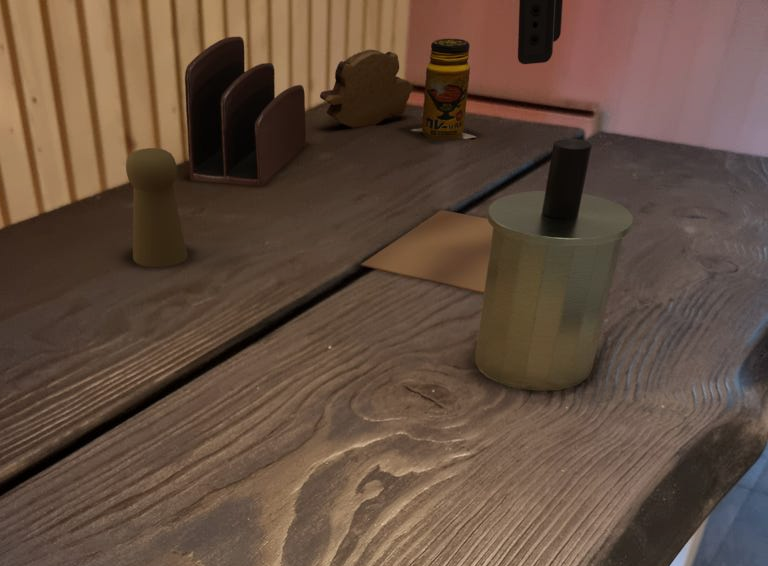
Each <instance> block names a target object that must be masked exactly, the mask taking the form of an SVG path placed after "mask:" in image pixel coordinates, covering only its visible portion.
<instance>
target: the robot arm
mask: <svg viewBox="0 0 768 566" xmlns="http://www.w3.org/2000/svg"><path fill="white" fill-rule="evenodd" d="M563 1H564V0H519V5H518V6H519V7H518V36H517V37H518V38H517V60H518V62H519V63H520V64H522V65H533V64H534V65H535V64H544V63H547V62H549V61H550V59H551V58H552V56H553V53H554V43H555V42H557V41H558V40H559V38H560V37H561V34H562V19H563V3H564V2H563Z"/></svg>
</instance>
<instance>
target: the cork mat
mask: <svg viewBox="0 0 768 566" xmlns="http://www.w3.org/2000/svg"><path fill="white" fill-rule="evenodd" d="M492 232H493V227H492V226H491V225H490V223H489V221H488V218H487V217H481V216H476V215H472V214H471V215H470V214H466V213H465V214H464V213H460V212H454V211H450V210H449V211H448V210H443V209H441V210H439V211H437V212H436V213H435V214H433V215H431V216H430V217H429V218H427V219H426V220H425V221H423V222H422V223H420V224H419V225H417V226H416V227H414V228H413V229H411V230H409V231H408V232H406V233H405V234H403V235H402V236H401V237H398V239H396V240H395V241H393V242H392V243H390V244H389V245H387V246H386V247H384V248H383V249H381V250H380V251H378V252H377V253H375V254H374V255H372V256H371V257H370V258H368V259H366V260H365V261H363V262H361V264H360V266H361V267H363V268H364V267H365V268H369V269H372V270H378V271H382V272H387V273H390V274H396V275H399V276H403V277H409V278H413V279H417V280H418V279H419V280H423V281H426V282H431V283H435V284H440V285H445V286H449V287H453V288H458V289H461V290H466V291H470V292H471V291H472V292H476V293H480V294H484V290H485V283H486V275H487V268H488V261H489V253H490V246H491V239H492Z"/></svg>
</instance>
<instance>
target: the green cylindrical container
mask: <svg viewBox="0 0 768 566" xmlns="http://www.w3.org/2000/svg"><path fill="white" fill-rule="evenodd" d="M622 242H623V238H621V239H619V240H616V241H613V242H609V243H605V244H600V245H592V246H577V247H568V246H551V245H543V244H537V243H532V242H527V241H523V240H519V239H516V238H513V237H510V236H508V235H505V234H503V233H501V232H499V231H498V230H496V229H495V228H494V227H493V232H492V239H491V246H490V253H489V261H488V268H487V275H486V283H485V290H484V293H483V297H482V304H481V305H482V306H481V313H480V320H479V326H478V327H479V328H478V332H477V334H478V335H477V342H476V349H475V361H474V363H475V365H476V367H477V369H478V370H479V371H480V372H481V373H482V375H484V376H485V377H487V378H489V379H490V380H491V381H494V382H496V383H498V384H502V385H504V386H507V387H511V388H515V389H519V390H528V391H538V392H539V391H540V392H544V391H545V392H546V391H547V392H548V391H558V390H559V391H560V390H565V389H569V388H572V387H574V386H577V385H579V384H581V383H583V382H584V381H586V380H587V379H588V378H589V376H590V374H591V373H592V371H593V367H594V362H595V359H596V354H597V349H598V345H599V341H600V337H601V332H602V329H603V323H604V320H605V316H606V310H607V306H608V303H609V297H610V293H611V289H612V284H613V281H614V277H615V272H616V268H617V263H618V259H619V256H620V250H621V246H622Z"/></svg>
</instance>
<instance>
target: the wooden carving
mask: <svg viewBox="0 0 768 566" xmlns="http://www.w3.org/2000/svg"><path fill="white" fill-rule="evenodd" d="M399 70H400V62H399V56H398V54H397V53H395V52H391V51H387V52H386V53H384V52H382V51H380V50H376V49H365V50H362V51H360V52H356V53H354V54H352V55H351V56H349V57H348V58H347V59H345V60H343V61H342V60H341V61H339V63H338V64H337V67H336V69H335V73H334V80H335V82H334V84H333V88H332V89H330V90H323V91H321V92H320V94H319V98H320V99H321V100H323V101H324V102H327V103H328V104H329V106H328V108H327V110H326V114H327V115H329V116H330V117H331V118H332V119H334V120H336V121H337V122H338V123H340V124H341V125H344V126H346V127H347V128H351V129H355V128H360V127H365V126H371V125H373V126H376V125H378V124H380V123H381V122H382V121H384V119H386V118H387V117H388V116H394V117H398V116H401V115H403V114H405V110H406V107H407V103H408V101H409V99H410V96H411V93H412V92H413V89H414V85H413V83H412V82H410V81H408V80H407V79H405V78H401V77H400V76H397V75H398V73H399V72H400V71H399Z"/></svg>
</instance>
